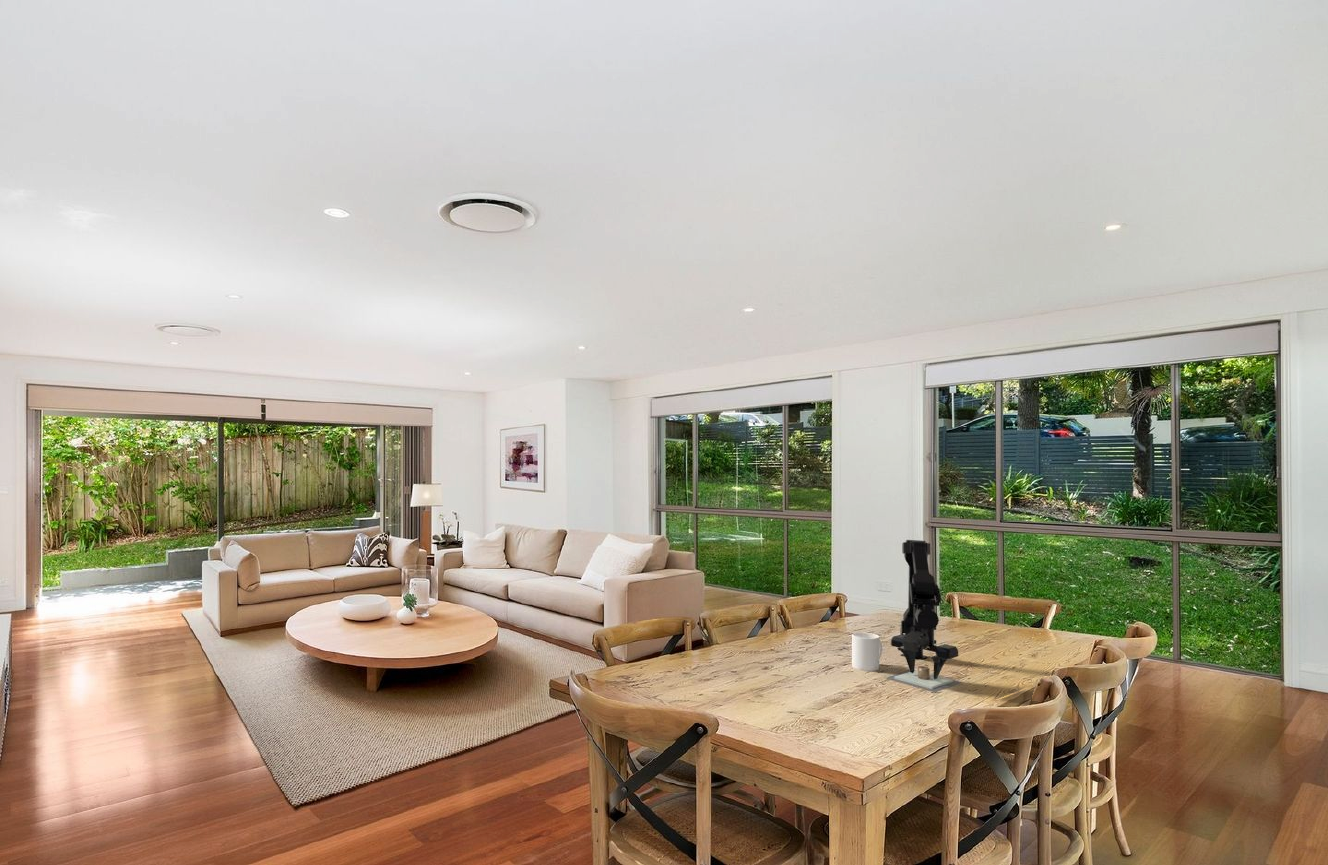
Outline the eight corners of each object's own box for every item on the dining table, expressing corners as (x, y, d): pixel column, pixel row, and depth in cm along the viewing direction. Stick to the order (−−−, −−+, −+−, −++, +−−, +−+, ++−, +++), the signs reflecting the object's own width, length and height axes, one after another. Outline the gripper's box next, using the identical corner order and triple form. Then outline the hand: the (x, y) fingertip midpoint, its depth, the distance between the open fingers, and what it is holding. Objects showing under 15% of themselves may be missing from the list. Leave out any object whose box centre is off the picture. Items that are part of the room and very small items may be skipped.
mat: (913, 670, 214) (913, 669, 214) (963, 683, 202) (963, 682, 202) (884, 679, 204) (884, 678, 204) (934, 693, 192) (934, 692, 192)
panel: (916, 672, 211) (916, 660, 211) (953, 681, 202) (953, 669, 202) (894, 678, 204) (894, 666, 204) (931, 688, 194) (931, 676, 195)
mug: (871, 662, 223) (871, 630, 224) (892, 668, 216) (892, 635, 217) (846, 667, 216) (846, 634, 217) (867, 673, 209) (867, 639, 210)
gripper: (880, 619, 206) (880, 672, 205) (939, 631, 192) (939, 688, 191) (901, 615, 213) (901, 666, 212) (959, 627, 199) (959, 682, 198)
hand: (923, 675), depth 203 cm, fingers open, 7 cm apart
